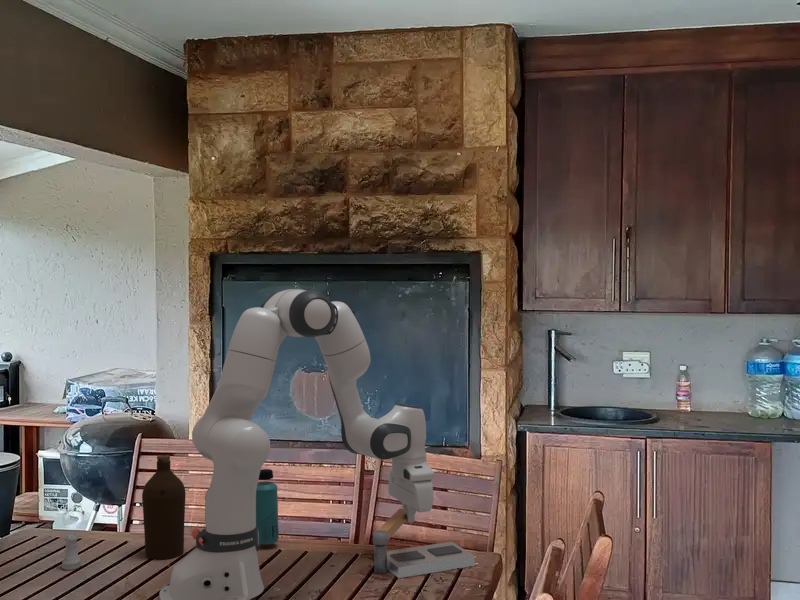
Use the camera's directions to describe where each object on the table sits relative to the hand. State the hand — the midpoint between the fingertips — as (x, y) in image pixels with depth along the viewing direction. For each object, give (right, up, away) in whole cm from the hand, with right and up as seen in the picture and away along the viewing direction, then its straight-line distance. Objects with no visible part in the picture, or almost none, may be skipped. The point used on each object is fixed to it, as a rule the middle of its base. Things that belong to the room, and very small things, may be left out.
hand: (409, 521), depth 210 cm
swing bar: (-4, -1, -6) cm, 7 cm away
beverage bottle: (-37, -8, +4) cm, 38 cm away
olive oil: (-62, -8, -1) cm, 63 cm away
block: (+2, -8, -11) cm, 14 cm away
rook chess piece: (-82, -9, -11) cm, 83 cm away
